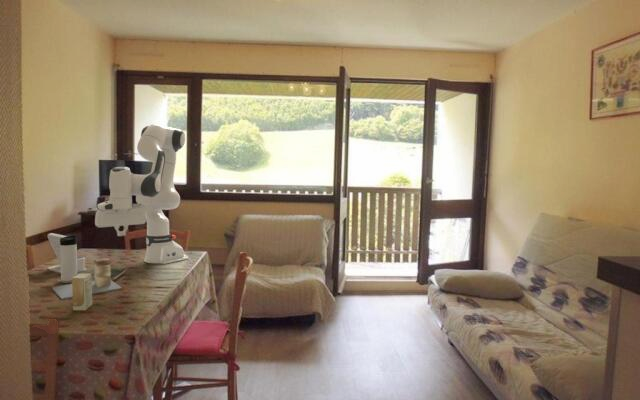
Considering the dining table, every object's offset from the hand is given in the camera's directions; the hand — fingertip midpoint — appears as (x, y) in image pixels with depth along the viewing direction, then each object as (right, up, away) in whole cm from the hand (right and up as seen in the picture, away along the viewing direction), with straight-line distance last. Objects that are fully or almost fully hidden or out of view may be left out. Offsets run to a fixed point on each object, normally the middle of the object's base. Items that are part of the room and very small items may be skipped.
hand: (121, 235), depth 182 cm
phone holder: (-36, -19, +20) cm, 45 cm away
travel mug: (-24, -21, +2) cm, 32 cm away
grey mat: (-11, -22, -7) cm, 25 cm away
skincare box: (0, -24, -29) cm, 38 cm away
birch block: (-6, -21, -3) cm, 22 cm away
